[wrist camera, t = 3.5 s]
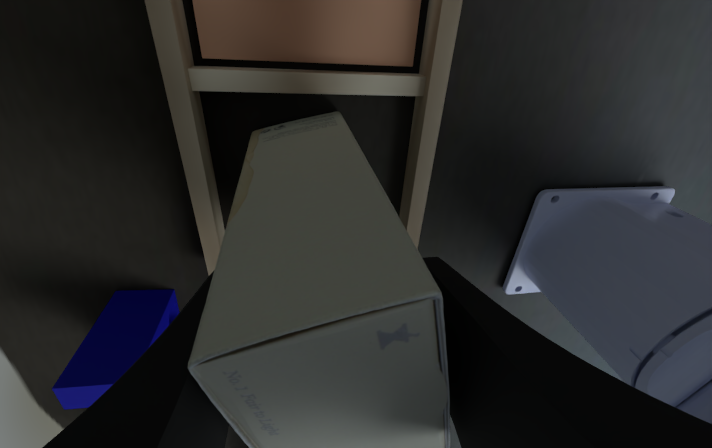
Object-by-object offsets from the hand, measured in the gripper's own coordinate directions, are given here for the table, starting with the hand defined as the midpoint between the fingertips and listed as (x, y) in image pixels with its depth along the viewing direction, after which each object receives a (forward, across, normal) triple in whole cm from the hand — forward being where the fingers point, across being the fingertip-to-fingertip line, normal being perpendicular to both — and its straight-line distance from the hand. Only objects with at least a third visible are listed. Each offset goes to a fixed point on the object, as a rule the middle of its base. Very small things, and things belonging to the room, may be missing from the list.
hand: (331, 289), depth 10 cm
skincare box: (+9, 0, 0) cm, 9 cm away
